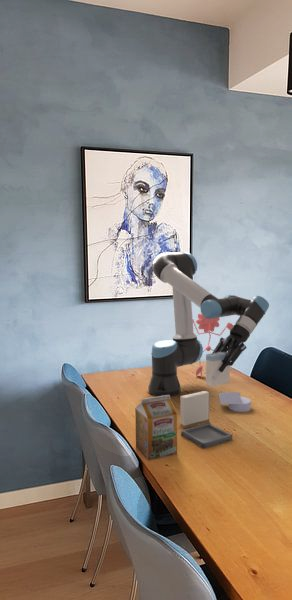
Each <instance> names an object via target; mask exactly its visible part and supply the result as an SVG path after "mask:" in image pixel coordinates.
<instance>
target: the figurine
mask: <svg viewBox="0 0 292 600" xmlns="http://www.w3.org/2000/svg"><path fill="white" fill-rule="evenodd" d="M220 318H221V317H219V318H215V319H212V318H211V319H207V318H205V317H204V316H203V314H202V313H198V314H197V320H196V321H194V319H193V318H192V319H193V327H195V328H194V329H195V330H196V332H197V334H198V335H204V334H208V335H209V338H208V343H207V345H206V347H205V349H203V353H204V352H205V351H207V352H210V351H212V352H213V351H214V350H215V349H212V347H211V346H210V342H211V338H212V337H211V336H212V335H215V336H218V337H221V336H222V335H223V333H224V331H225V330H226V329H228V330H229V331H230V330H231V329H232V327H233V326H234V324H232V323H231V322H228V323H226V326H225V327H223V330H222V331H221V332H220V334H219V333H216V332H214V331H215V328H219V327H220V322H219V321H220ZM195 322H196V323H195ZM196 324H197V325H198V328H197V325H196ZM198 329H199V330H203V332H199V330H198ZM211 334H212V335H211ZM199 361H201V358H200V359H199ZM203 367H204V366H203V365H201V364H199V367H198V368H197V369H196V371H194V370H193V371H191V372H188V374H191V373H194V372H195V376H198V375H199V374H200V378H201V379H203V373H202V372H205V371H206V369H205V370H204V369H203Z"/></svg>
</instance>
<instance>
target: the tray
mask: <svg viewBox="0 0 292 600" xmlns="http://www.w3.org/2000/svg"><path fill="white" fill-rule="evenodd" d="M180 436H182V437H184V438H185V439H187V440H188V441H190V442H192V443H193V444H195V445H197V446H198V447H200V448H202V449H203V450H204V449H207V448H210V447H214V446H217V445H220V444H223V443H226V442H227V443H228V442H229V441H233V434H231V433H229V432H228V431H225V430H224V429H222V428H220V427H218V426H216V425H214V424H212V423H210V422H208V423H204V424H200V425H197V426H193V427H189V428H186V429H181V433H180Z"/></svg>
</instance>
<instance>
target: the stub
mask: <svg viewBox="0 0 292 600" xmlns="http://www.w3.org/2000/svg"><path fill="white" fill-rule="evenodd" d="M227 352H228V351H227ZM227 352H218V353H213V352H212V353H208V354H206V355H205V361H206V362H205V370H206V374H205V385H207V386H209V387H218V386H221V385H224V384H225V385H227V384H230V373H231V372H230V370H231V366H230V365H228V366H226V368H225V369H224V371H223V372H221V374H220V375H219V376H218V378H217V379H214V378H213V377H212V376H211V375H212V373H213V372H214V371H215V369H216V368H217V366H218V365H219V363H220V362H222V360H224V358H225V356H226V354H227ZM222 363H223V362H222Z"/></svg>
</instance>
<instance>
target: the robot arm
mask: <svg viewBox="0 0 292 600" xmlns="http://www.w3.org/2000/svg"><path fill="white" fill-rule="evenodd" d="M152 270H153V271H152V272H153V274H154V275H155V276H156V278H157V279H159V280H160V282H162V283H164V284H168V285H170V287H172V288H171V289H172V298H173V299H172V301H173V312H174V315H173V316H174V327H175V328H174V329H175V334H174V335H173V336H172V340H171V339H165V340H159V341H155V343H154V344H152V347H151V377H150V379H149V380H150V381H149V384H148V393H149V394H150V395H153V396H156V397H158V396H164V395H170V397H171V396H176V395H179V394H180V393H181V389H182V388H181V384H180V383H181V382H180V380H179V378H178V369H177V368H180V367H183V366H188V365H192V364H195V363H197V362H200V360H201V358H202V356H203V354H204V352H203V351H204V349H203V348H204V347H203V344H202V343H201V341H200V339H198V335H197V334H195V333H194V323H193V307H192V305H193V304H195V306H197V307H199V308H200V314H203V316H204V317H205V318H207V319H211V318H212V319H215V318H224V317H231V316H239V317H238V319H237V320H236V321H235V323H234V324H233V327H232V329H231V330H229V335H228V336H227V337H225V338H224V337H220V339H219V342H218V343H217V345H216V346H215V348H214V349H213V350H214V351H213V350H212V353H218V352H227V354H226V356H225V358H224V360H222V362H223V363H222V362H220V363H219V365H218V366H217V368H216V369H215V371H214V372H213V373H212V375H211V376H212V377H213V378H214V379H217V378H218V376H219V375H220V374H221V372H223V371H224V369H225V368H226V366H228V365H230V367H233V365H234V363H235V362H236V361H237V359H238V358H239V357H240V355H241V354H242V353H243V352H244V351H245V350H247V348H248V347H247V346H246V344H244V343H246V342H247V341H248V339H249V338H250V336H251V335H252V333H253V332H254V330H255V329H256V327H257V326H258V324H259V323H260V322H261V320H262V318H264V316H265V315H266V313H267V311H268V310H269V307H270V303H269V301H268V300H267V299H266V298H265V297H263V296H260V295H255V296H253V297H252V298H251V299H247V298H244V297H240V296H238V295H234V294H233V295H231V294H227V295H225V296H224V297H222V298H218V297H216V296H215V295H214V294H212V293H211V292H209V290H207V289H205V288H204V287H203V286H201V285H200V284H199V283H198V282H196V281H194V277H193V276H194V275H195V274H196V273H197V271H198V263H197V260H196V258H195V256H194V255H193V254H191V253H190V252H186V251H184V252H183V251H179V252H178V251H177V252H176V251H175V252H163V253H159V254H158V255H157V256H156V257H155V259H154V260H153V262H152ZM192 303H193V304H192ZM199 359H200V360H199ZM203 372H204V373H203V374H205V375H206V371H203Z"/></svg>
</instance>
